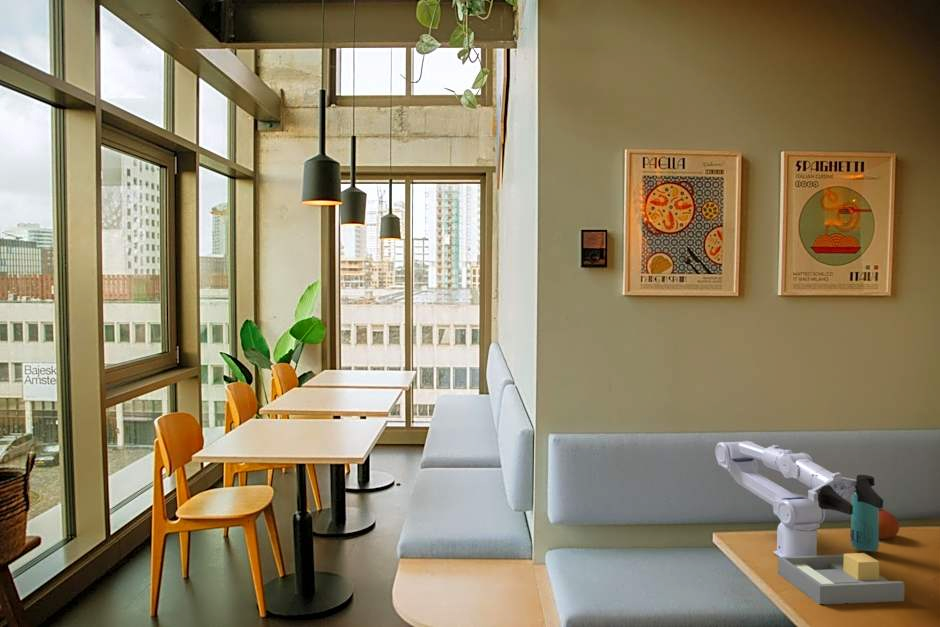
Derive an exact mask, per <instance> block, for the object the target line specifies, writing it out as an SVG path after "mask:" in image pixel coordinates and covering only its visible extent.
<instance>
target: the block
mask: <svg viewBox="0 0 940 627" xmlns="http://www.w3.org/2000/svg"><path fill="white" fill-rule="evenodd" d="M843 555H844V564H843V571H845V572H846V573H848V574H849V575H851V576H853V577H854V578H856V579H857V580H871V579H879V575H880V561H879V560H877V559H875V558H873V557H872V556H870V555H868V554H867V553H865V552H855V553H854V552H853V553H843Z"/></svg>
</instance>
